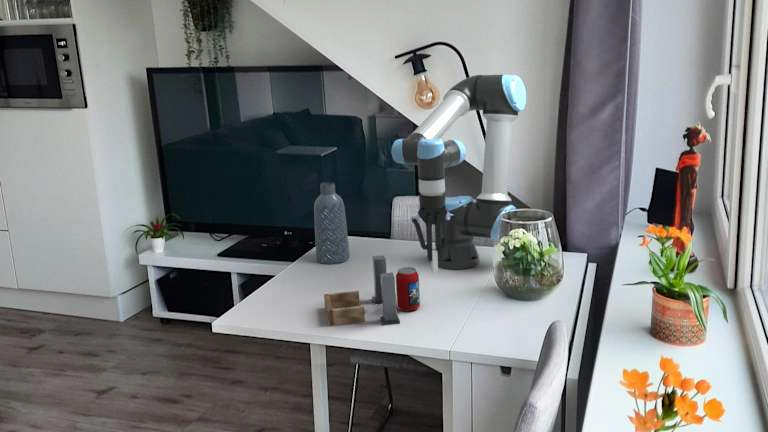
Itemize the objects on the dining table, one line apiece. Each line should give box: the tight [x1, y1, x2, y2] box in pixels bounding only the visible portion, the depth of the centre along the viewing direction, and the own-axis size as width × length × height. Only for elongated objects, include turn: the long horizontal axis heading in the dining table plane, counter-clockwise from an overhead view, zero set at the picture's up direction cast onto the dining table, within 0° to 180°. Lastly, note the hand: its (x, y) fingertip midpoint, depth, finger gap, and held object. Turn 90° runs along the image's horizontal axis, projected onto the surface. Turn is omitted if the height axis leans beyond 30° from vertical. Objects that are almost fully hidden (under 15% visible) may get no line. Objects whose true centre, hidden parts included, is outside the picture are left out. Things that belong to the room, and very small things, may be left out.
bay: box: [323, 290, 366, 327], centre depth 224 cm, size 10×14×4 cm
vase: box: [313, 181, 350, 265], centre depth 274 cm, size 12×12×28 cm
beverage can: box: [395, 266, 421, 312], centre depth 225 cm, size 7×7×12 cm
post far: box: [372, 255, 387, 305], centre depth 232 cm, size 5×5×14 cm
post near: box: [379, 272, 401, 326], centre depth 216 cm, size 5×5×14 cm
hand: (434, 270), depth 225 cm, fingers closed
